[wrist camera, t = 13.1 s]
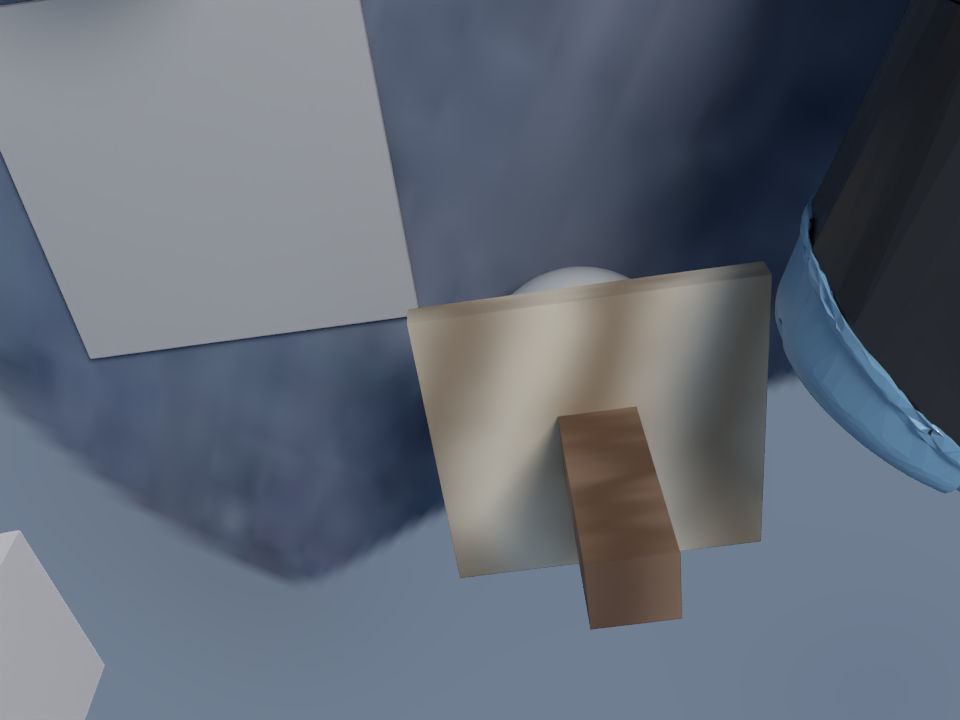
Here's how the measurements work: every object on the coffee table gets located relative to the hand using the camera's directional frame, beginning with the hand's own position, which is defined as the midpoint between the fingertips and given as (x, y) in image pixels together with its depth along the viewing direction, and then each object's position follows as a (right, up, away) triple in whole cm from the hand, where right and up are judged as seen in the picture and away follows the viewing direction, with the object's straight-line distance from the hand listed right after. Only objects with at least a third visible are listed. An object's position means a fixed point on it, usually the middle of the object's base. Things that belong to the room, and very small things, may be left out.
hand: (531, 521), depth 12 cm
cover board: (+5, -1, +31) cm, 31 cm away
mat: (-14, +11, +33) cm, 37 cm away
